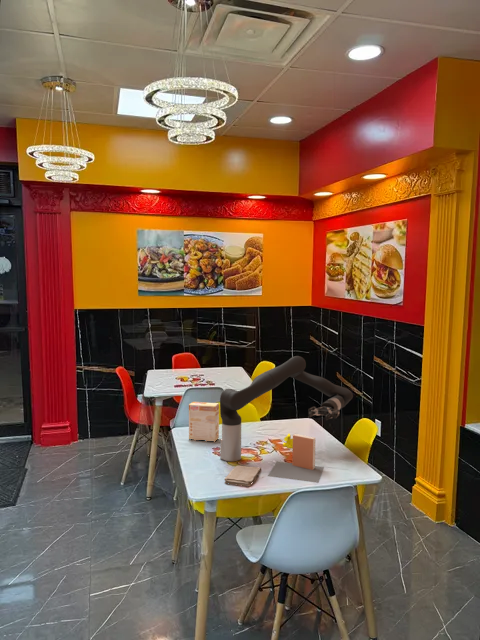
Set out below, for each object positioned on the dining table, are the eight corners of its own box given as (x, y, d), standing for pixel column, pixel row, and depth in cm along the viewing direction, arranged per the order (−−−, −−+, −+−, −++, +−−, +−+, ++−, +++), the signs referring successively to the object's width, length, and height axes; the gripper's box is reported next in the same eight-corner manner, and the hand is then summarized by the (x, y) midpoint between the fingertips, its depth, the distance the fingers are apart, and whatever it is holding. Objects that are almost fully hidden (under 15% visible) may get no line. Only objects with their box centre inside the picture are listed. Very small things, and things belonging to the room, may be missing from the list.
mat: (267, 477, 205) (267, 475, 205) (276, 463, 222) (276, 461, 222) (318, 484, 198) (318, 482, 198) (324, 468, 215) (324, 467, 215)
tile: (292, 465, 217) (292, 435, 216) (294, 463, 219) (295, 433, 218) (312, 469, 212) (313, 439, 211) (314, 468, 214) (315, 437, 213)
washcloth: (223, 485, 198) (223, 477, 198) (236, 469, 215) (236, 462, 215) (250, 488, 195) (250, 481, 194) (261, 472, 212) (261, 465, 211)
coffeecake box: (219, 438, 257) (219, 403, 255) (215, 442, 250) (215, 406, 249) (193, 436, 261) (193, 401, 259) (188, 440, 254) (188, 404, 252)
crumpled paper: (298, 450, 240) (298, 435, 239) (282, 449, 241) (282, 434, 240) (298, 446, 245) (299, 431, 245) (283, 445, 247) (283, 431, 246)
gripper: (317, 397, 242) (303, 407, 228) (344, 401, 234) (331, 411, 221) (318, 412, 243) (304, 422, 229) (344, 416, 235) (332, 426, 222)
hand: (317, 416), depth 225 cm, fingers open, 8 cm apart
